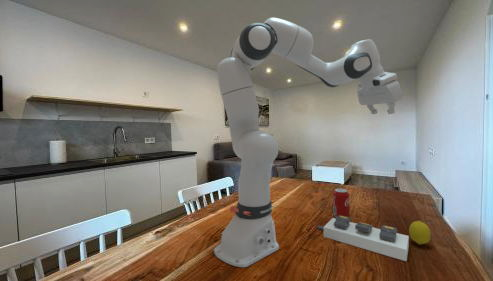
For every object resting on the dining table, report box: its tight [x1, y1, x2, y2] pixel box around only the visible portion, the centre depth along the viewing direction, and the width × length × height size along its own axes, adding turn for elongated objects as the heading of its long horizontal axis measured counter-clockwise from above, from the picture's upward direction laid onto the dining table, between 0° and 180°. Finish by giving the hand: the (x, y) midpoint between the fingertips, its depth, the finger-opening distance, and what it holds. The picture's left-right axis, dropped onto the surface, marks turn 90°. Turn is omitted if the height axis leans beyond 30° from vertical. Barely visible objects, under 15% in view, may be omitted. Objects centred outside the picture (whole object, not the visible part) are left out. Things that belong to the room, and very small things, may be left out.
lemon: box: [408, 220, 432, 246], centre depth 70 cm, size 6×6×8 cm
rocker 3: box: [380, 224, 398, 242], centre depth 69 cm, size 6×4×2 cm, turn 140°
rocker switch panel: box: [317, 217, 410, 262], centre depth 74 cm, size 10×28×4 cm, turn 50°
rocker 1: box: [334, 215, 352, 229], centre depth 78 cm, size 6×4×2 cm, turn 140°
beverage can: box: [332, 188, 350, 219], centre depth 93 cm, size 6×6×12 cm
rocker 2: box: [355, 221, 373, 232], centre depth 73 cm, size 6×4×2 cm, turn 140°
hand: (382, 113), depth 87 cm, fingers open, 8 cm apart
